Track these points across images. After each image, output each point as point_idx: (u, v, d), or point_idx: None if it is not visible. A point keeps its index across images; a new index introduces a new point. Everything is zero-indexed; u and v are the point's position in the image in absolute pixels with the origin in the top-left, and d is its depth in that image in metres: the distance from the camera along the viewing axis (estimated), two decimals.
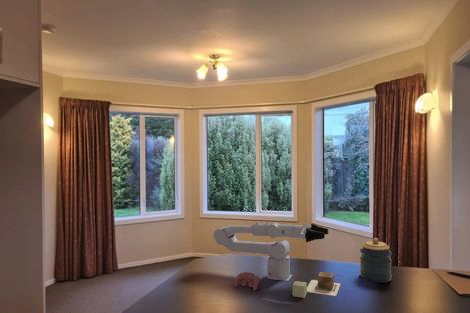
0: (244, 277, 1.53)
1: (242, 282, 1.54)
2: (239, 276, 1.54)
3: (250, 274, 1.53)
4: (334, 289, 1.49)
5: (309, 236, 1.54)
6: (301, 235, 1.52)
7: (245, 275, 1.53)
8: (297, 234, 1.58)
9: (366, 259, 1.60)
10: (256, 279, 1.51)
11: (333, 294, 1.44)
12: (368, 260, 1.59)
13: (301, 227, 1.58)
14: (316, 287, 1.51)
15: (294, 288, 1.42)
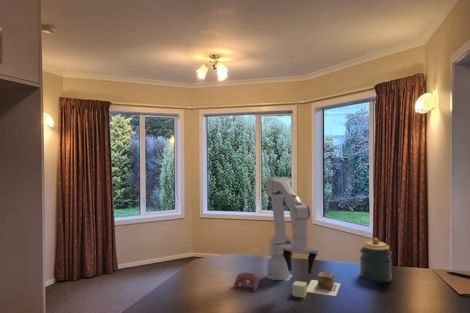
0: (244, 277, 1.53)
1: (242, 282, 1.54)
2: (239, 276, 1.54)
3: (250, 274, 1.53)
4: (334, 289, 1.49)
5: None
6: None
7: (245, 275, 1.53)
8: None
9: (366, 259, 1.60)
10: (256, 279, 1.51)
11: (333, 294, 1.44)
12: (368, 260, 1.59)
13: (294, 246, 1.42)
14: (316, 287, 1.51)
15: (294, 288, 1.42)
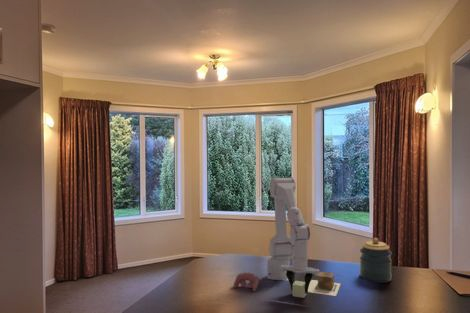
0: (244, 277, 1.53)
1: (241, 283, 1.54)
2: (238, 276, 1.54)
3: (250, 274, 1.52)
4: (334, 289, 1.49)
5: None
6: None
7: (245, 275, 1.53)
8: None
9: (366, 259, 1.60)
10: (256, 279, 1.51)
11: (333, 294, 1.44)
12: (368, 260, 1.59)
13: (294, 267, 1.42)
14: (316, 287, 1.51)
15: (294, 288, 1.42)
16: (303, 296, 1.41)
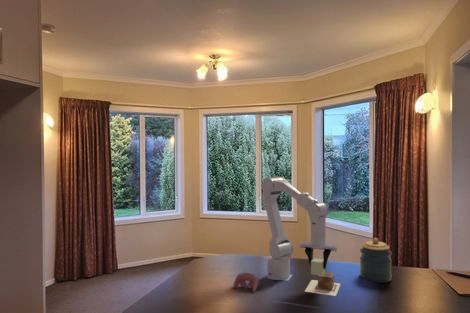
0: (243, 278, 1.52)
1: (241, 283, 1.53)
2: (238, 277, 1.53)
3: (249, 275, 1.52)
4: (334, 289, 1.49)
5: None
6: None
7: (244, 276, 1.52)
8: None
9: (366, 259, 1.60)
10: (255, 280, 1.50)
11: (333, 294, 1.44)
12: (368, 260, 1.59)
13: (312, 243, 1.47)
14: (316, 287, 1.51)
15: (312, 264, 1.47)
16: (321, 272, 1.46)
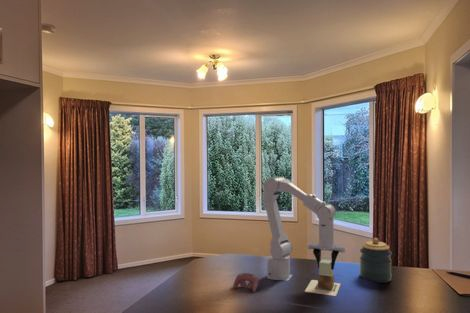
0: (243, 278, 1.52)
1: (241, 283, 1.53)
2: (238, 277, 1.53)
3: (249, 275, 1.52)
4: (334, 289, 1.49)
5: None
6: None
7: (244, 276, 1.52)
8: None
9: (366, 259, 1.60)
10: (255, 280, 1.50)
11: (333, 294, 1.44)
12: (368, 260, 1.59)
13: (321, 244, 1.50)
14: (316, 287, 1.51)
15: (321, 266, 1.50)
16: (329, 273, 1.48)
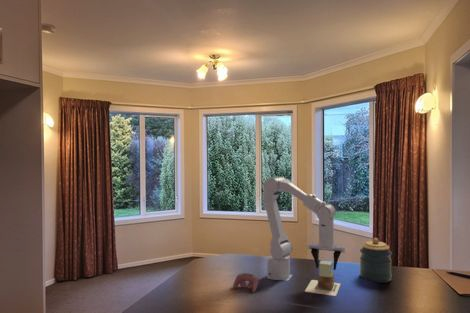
0: (243, 278, 1.52)
1: (241, 283, 1.53)
2: (238, 277, 1.53)
3: (249, 275, 1.52)
4: (334, 289, 1.49)
5: None
6: None
7: (244, 276, 1.52)
8: None
9: (366, 259, 1.60)
10: (255, 280, 1.50)
11: (333, 294, 1.44)
12: (368, 260, 1.59)
13: (321, 244, 1.50)
14: (316, 287, 1.51)
15: (321, 267, 1.50)
16: (330, 274, 1.48)
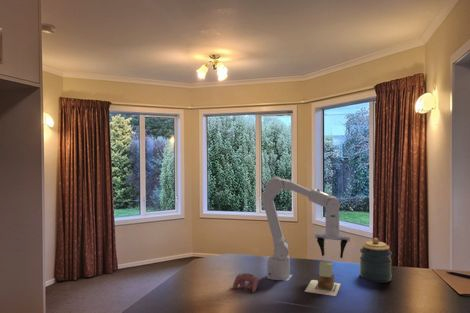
0: (243, 278, 1.52)
1: (241, 283, 1.53)
2: (238, 277, 1.53)
3: (249, 275, 1.52)
4: (334, 289, 1.49)
5: None
6: (315, 235, 1.63)
7: (244, 276, 1.52)
8: None
9: (366, 259, 1.60)
10: (255, 280, 1.50)
11: (333, 294, 1.44)
12: (368, 260, 1.59)
13: (327, 234, 1.58)
14: (316, 287, 1.51)
15: (321, 267, 1.50)
16: (330, 274, 1.48)
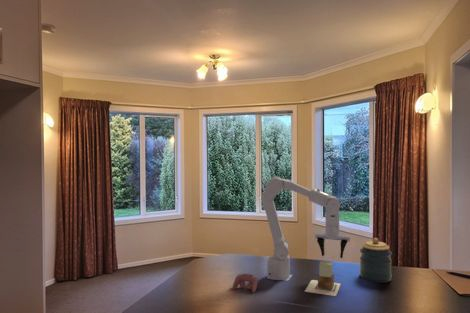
0: (243, 279, 1.52)
1: (241, 284, 1.52)
2: (238, 278, 1.52)
3: (249, 275, 1.51)
4: (334, 289, 1.49)
5: None
6: (315, 235, 1.63)
7: (244, 276, 1.51)
8: None
9: (366, 259, 1.60)
10: (255, 281, 1.50)
11: (333, 294, 1.44)
12: (368, 260, 1.59)
13: (327, 234, 1.59)
14: (316, 287, 1.51)
15: (321, 267, 1.50)
16: (330, 274, 1.48)
